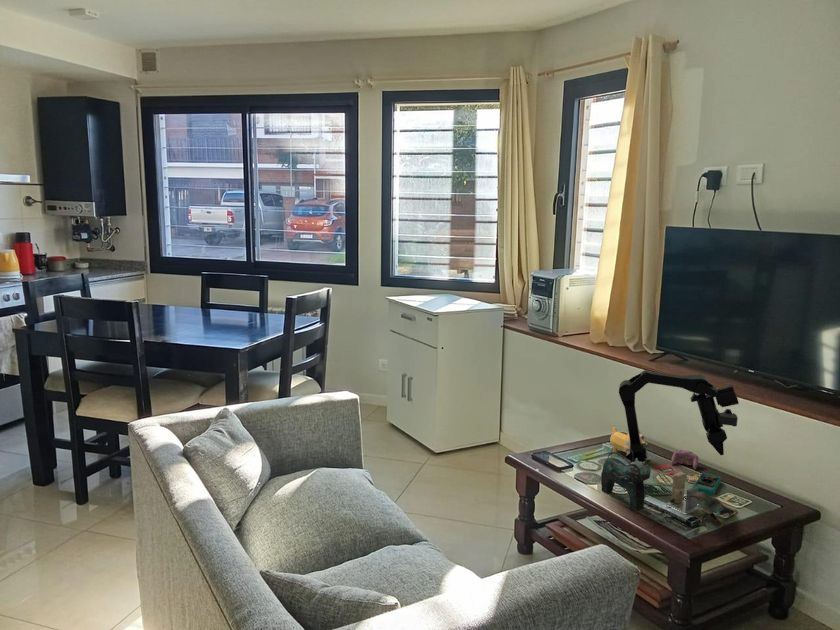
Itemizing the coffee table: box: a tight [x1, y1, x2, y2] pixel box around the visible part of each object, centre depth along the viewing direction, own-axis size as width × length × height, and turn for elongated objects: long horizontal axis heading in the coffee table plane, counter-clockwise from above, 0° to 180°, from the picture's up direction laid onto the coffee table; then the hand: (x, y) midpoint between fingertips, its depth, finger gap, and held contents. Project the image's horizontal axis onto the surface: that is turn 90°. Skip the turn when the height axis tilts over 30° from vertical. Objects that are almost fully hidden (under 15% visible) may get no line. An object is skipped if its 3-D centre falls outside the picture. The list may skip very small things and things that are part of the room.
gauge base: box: [666, 487, 699, 514], centre depth 223 cm, size 7×7×8 cm
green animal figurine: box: [600, 449, 652, 512], centre depth 227 cm, size 20×6×20 cm, turn 26°
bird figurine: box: [688, 492, 736, 528], centre depth 213 cm, size 13×10×20 cm
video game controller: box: [670, 449, 699, 470], centre depth 259 cm, size 10×5×7 cm, turn 58°
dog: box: [609, 426, 650, 455], centre depth 267 cm, size 8×20×13 cm, turn 28°
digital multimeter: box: [692, 472, 722, 497], centre depth 240 cm, size 7×15×3 cm, turn 145°
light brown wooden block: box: [669, 471, 687, 503], centre depth 224 cm, size 2×6×10 cm, turn 122°
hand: (720, 450), depth 231 cm, fingers open, 9 cm apart
